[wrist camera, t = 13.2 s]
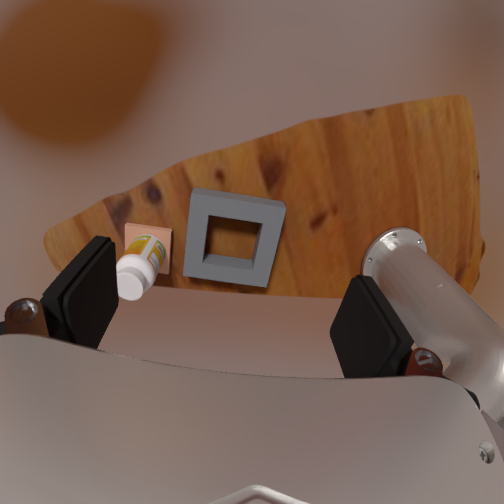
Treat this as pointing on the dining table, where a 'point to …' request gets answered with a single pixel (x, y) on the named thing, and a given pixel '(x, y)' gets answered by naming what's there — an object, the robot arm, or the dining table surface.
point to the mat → (159, 232)
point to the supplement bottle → (139, 266)
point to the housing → (241, 209)
